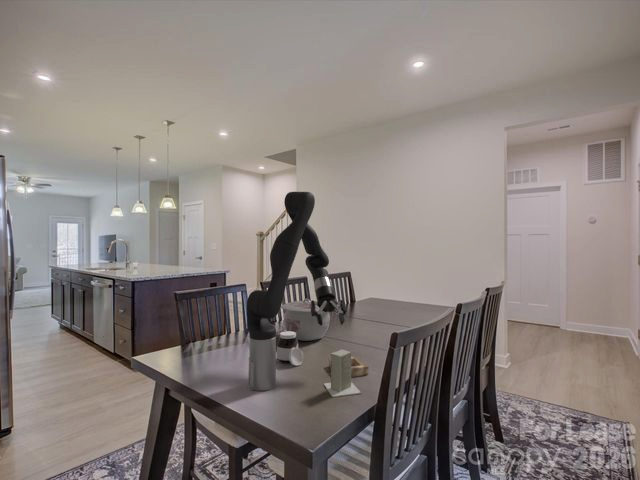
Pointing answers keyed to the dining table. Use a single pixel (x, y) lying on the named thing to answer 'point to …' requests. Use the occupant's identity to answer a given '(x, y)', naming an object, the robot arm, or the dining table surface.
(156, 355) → the dining table surface
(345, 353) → the skincare box
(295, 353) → the spread jar
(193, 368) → the dining table surface
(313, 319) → the chamber pot
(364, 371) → the holder collar
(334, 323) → the dining table surface
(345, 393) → the mat
